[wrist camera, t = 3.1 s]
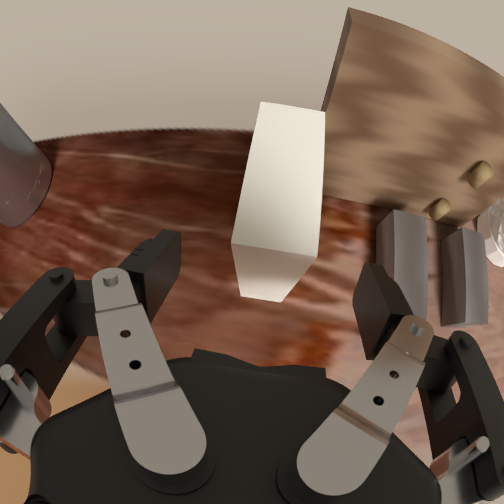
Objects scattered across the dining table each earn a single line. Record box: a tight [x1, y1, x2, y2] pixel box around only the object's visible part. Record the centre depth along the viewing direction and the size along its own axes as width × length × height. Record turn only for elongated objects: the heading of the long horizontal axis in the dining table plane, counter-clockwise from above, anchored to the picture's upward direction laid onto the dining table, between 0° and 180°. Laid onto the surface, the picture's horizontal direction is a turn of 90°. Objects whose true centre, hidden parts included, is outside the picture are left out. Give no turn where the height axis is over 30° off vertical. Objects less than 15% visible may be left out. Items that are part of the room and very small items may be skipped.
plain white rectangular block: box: [231, 102, 325, 302], centre depth 17 cm, size 3×7×12 cm, turn 171°
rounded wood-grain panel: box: [321, 8, 504, 328], centre depth 15 cm, size 17×12×16 cm
